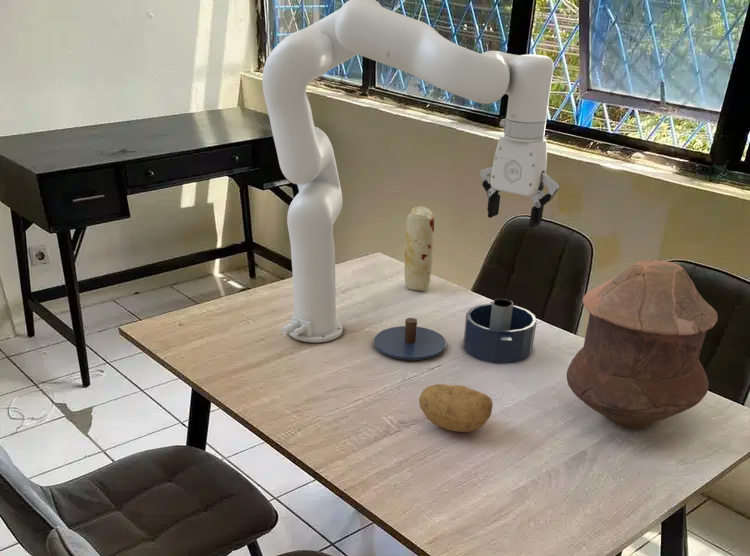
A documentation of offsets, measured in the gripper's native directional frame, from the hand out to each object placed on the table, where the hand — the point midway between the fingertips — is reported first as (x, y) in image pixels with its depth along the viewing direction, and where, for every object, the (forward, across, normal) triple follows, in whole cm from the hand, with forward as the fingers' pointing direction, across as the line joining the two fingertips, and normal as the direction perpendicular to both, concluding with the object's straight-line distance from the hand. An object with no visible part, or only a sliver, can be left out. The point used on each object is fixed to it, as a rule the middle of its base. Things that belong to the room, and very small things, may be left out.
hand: (513, 220), depth 158 cm
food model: (+28, -35, +18) cm, 49 cm away
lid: (+28, -16, -12) cm, 34 cm away
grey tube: (+28, 0, 0) cm, 28 cm away
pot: (+28, 0, 0) cm, 28 cm away
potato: (+28, +11, -35) cm, 46 cm away
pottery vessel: (+28, +35, -10) cm, 46 cm away
